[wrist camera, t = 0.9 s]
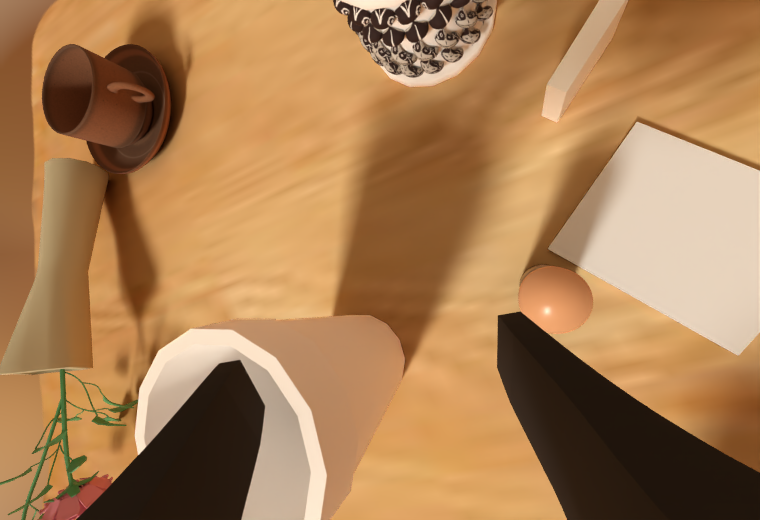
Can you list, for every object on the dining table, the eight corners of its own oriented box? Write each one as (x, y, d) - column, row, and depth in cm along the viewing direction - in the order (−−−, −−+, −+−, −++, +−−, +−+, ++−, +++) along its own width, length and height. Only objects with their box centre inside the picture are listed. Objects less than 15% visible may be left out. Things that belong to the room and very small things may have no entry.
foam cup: (387, 270, 24) (255, 284, 12) (452, 394, 22) (374, 554, 10) (290, 327, 27) (109, 383, 15) (341, 439, 26) (183, 601, 14)
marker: (579, 279, 20) (608, 291, 13) (550, 318, 20) (565, 347, 14) (535, 255, 20) (543, 254, 14) (509, 292, 21) (505, 308, 15)
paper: (861, 214, 15) (867, 213, 15) (734, 354, 17) (738, 355, 17) (635, 123, 18) (637, 121, 18) (547, 248, 20) (547, 248, 20)
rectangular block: (594, 33, 19) (612, -21, 15) (612, 39, 19) (634, -15, 15) (541, 115, 20) (546, 84, 17) (557, 122, 20) (566, 92, 16)
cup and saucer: (167, 31, 33) (92, -17, 27) (197, 145, 31) (125, 120, 25) (95, 93, 37) (17, 64, 31) (119, 196, 35) (42, 185, 30)
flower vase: (192, 199, 42) (178, 537, 32) (100, 215, 43) (60, 547, 33) (106, 141, 30) (45, 637, 21) (-17, 165, 31) (-130, 648, 22)
